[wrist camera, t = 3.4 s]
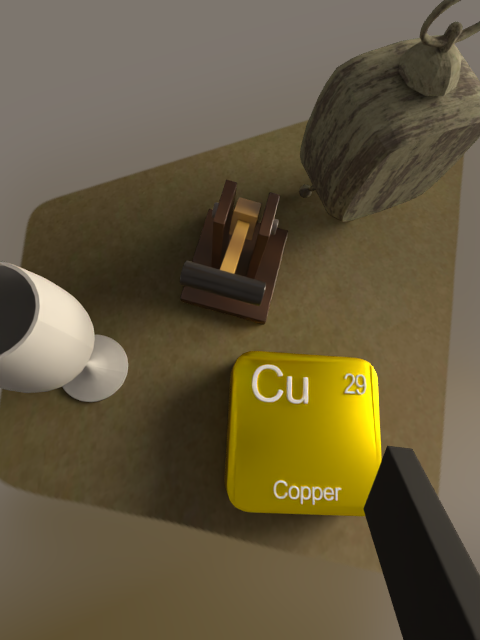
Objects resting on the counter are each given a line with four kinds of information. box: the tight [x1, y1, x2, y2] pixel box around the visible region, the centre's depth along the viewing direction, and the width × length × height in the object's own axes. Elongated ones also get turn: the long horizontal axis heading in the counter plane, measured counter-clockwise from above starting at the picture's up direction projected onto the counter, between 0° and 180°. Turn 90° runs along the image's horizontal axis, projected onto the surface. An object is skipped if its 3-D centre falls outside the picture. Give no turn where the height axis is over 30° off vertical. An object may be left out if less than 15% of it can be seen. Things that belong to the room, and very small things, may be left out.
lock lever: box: [180, 197, 266, 306], centre depth 31 cm, size 12×6×2 cm, turn 166°
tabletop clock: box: [299, 0, 480, 221], centre depth 37 cm, size 14×9×25 cm, turn 113°
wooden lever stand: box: [180, 180, 288, 324], centre depth 39 cm, size 12×10×13 cm
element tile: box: [224, 351, 382, 516], centre depth 38 cm, size 15×15×5 cm
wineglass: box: [0, 261, 128, 402], centre depth 30 cm, size 8×8×21 cm
